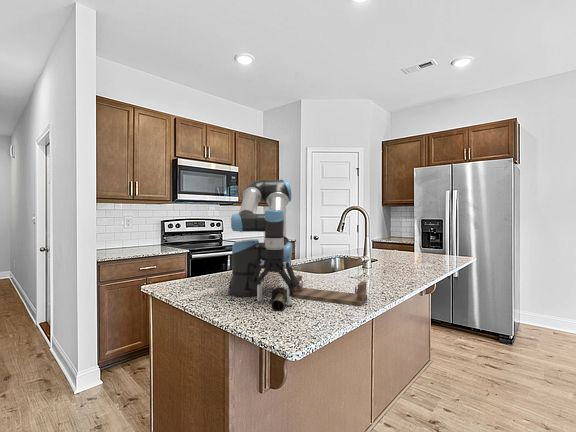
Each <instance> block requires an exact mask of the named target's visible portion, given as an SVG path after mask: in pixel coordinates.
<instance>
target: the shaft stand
mask: <svg viewBox="0 0 576 432" xmlns="http://www.w3.org/2000/svg"><path fill="white" fill-rule="evenodd" d="M295 277H296V280H297V282H298V286H296V287H294V295H293V296H292V299H293V298H294V299H301V300H306V301H307V300H309V301H316V302H322V303H323V302H324V303H331V304H333V303H334V304H340V305H347V306H348V305H349V306H355V307H362V306H363V305H364V303H365V302H366V301H367V300H368V294H367V281H360V282H359V283H358V284H357V286H355V287H354V293H353V292H352V293H351V292H345V291H335V290H327V289H326V290H325V289H319V288H307V287H304V281H303V276H302V275H301V274H300V275H299V274H298V275H295Z"/></svg>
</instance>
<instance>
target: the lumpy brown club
mask: <svg viewBox="0 0 576 432" xmlns="http://www.w3.org/2000/svg"><path fill="white" fill-rule="evenodd" d="M270 299H271V309H272V310H273V311H275V312H282V311H283V310H284V309H285V306H286V303H287V288H285V287H281V286H278V287H275V288H273V289H272V290H271V297H270Z"/></svg>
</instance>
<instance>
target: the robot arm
mask: <svg viewBox="0 0 576 432" xmlns="http://www.w3.org/2000/svg"><path fill="white" fill-rule="evenodd" d="M291 201H292V187H291V183H290V181H289V180H288V179H258V180H255V181H253V182H251V183H249V184H248V185H247V186H246V187H245V188H244V189H243V192H242V202H241V205H240V207H239V208H240V209H239V212H238V213H234V214H232V215H231V218H230V227H231V230H232V231H233V232H239V233H245V232H248V233H249V232H254V233H255V232H262V233H264V241H263V242H260V241H259V239H256V238H253V239H245V240H240V241H236V242H234V243H233V244H232V250H231V256H232V257H231V259H232V261H231V266H232V267H231V268H232V269H231V270H232V271H231V272H232V273H231V274H232V275H231V279H230V282H229V285H228V290H227V294H228V295H230V296H234V297H255V296H256V297H257V298H256V299H257V300H256V301H257V302H261V301H263V283H262V281H264V279H265V277H266V276H267V274H269V273H276V274H277V273H278V274H279V275H280V276H281V278H282V279H283V281H284V283H285V284H286V286H287V288H286V289H287V300H286V306H288V307H289V306H291V305H292V302H293V301H292V299H293V298H292V296H293V295H294V287H296V286H298V282H297V280H296V277H295V276H296V274H295V273H294V270H293V268H292V267H293V266H292V255H293V242H290V240H289V238H288V237H287V206H288V204H289V203H290V202H291ZM262 202H265V203H267V205H268V209H266V210H264V213H257V210H258V205H259V203H262ZM285 269H286V270H285ZM262 270H263V271H262ZM261 271H262V273H261ZM286 271H287V272H286Z"/></svg>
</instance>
